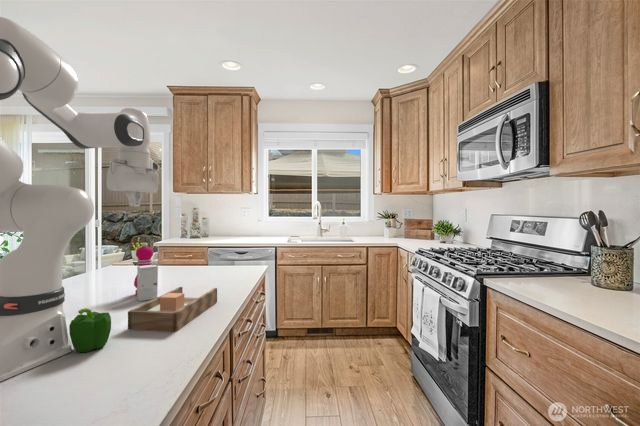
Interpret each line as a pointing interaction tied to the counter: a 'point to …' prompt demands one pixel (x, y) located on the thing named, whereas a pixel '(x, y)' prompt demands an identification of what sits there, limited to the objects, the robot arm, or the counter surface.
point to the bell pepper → (90, 330)
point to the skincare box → (147, 282)
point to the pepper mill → (143, 258)
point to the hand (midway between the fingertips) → (134, 206)
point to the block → (171, 301)
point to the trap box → (169, 313)
